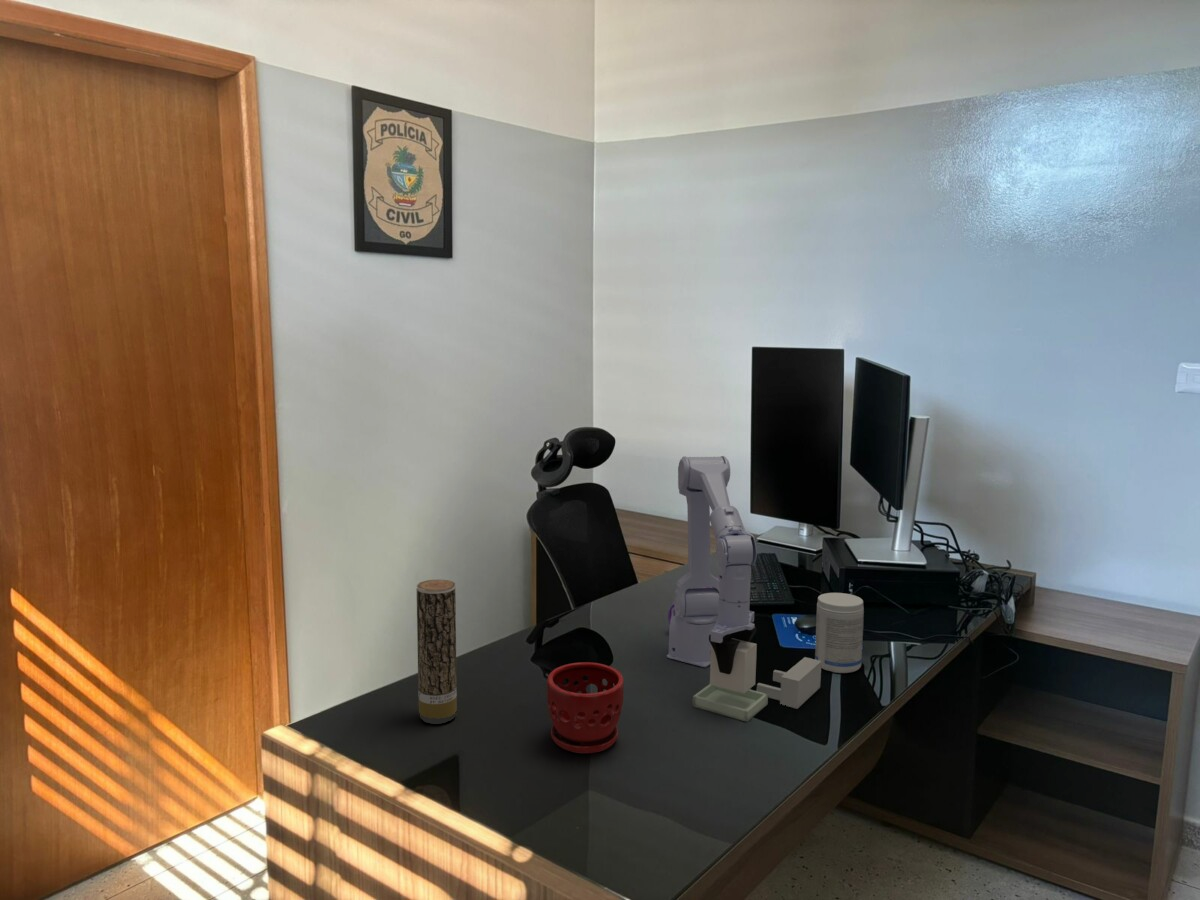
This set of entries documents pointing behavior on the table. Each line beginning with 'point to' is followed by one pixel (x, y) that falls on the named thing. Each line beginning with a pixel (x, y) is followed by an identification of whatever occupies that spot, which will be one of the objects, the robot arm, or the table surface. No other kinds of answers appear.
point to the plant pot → (585, 706)
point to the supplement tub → (839, 632)
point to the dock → (795, 683)
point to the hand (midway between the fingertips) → (731, 668)
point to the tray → (730, 702)
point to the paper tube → (436, 648)
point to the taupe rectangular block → (736, 669)
